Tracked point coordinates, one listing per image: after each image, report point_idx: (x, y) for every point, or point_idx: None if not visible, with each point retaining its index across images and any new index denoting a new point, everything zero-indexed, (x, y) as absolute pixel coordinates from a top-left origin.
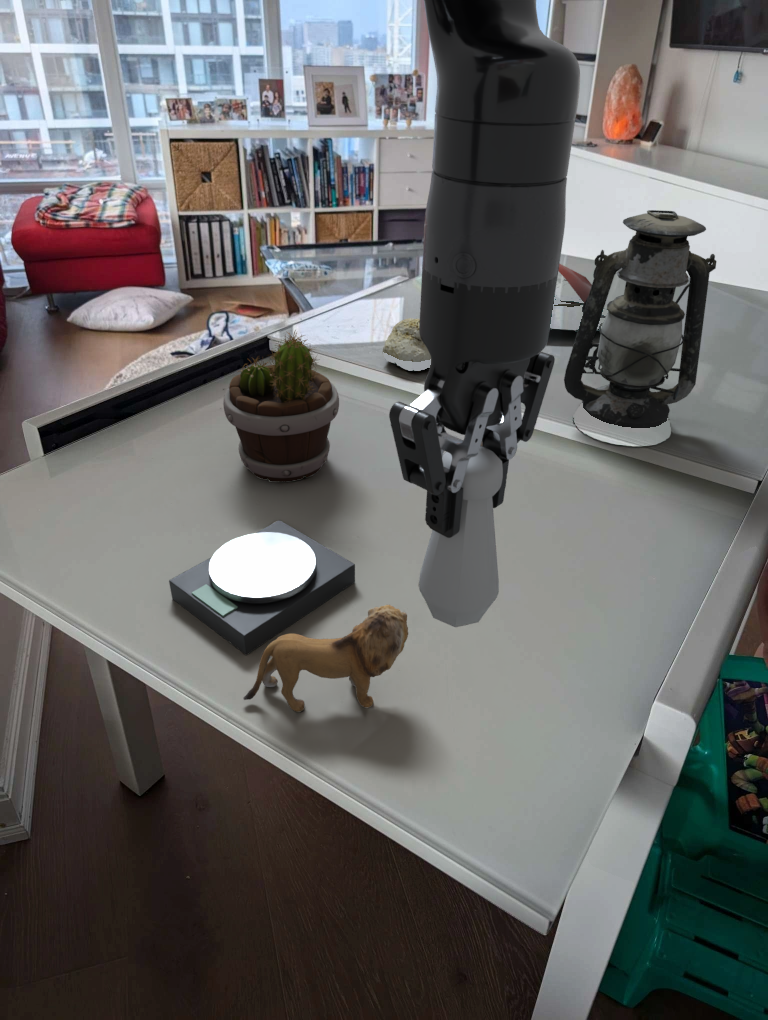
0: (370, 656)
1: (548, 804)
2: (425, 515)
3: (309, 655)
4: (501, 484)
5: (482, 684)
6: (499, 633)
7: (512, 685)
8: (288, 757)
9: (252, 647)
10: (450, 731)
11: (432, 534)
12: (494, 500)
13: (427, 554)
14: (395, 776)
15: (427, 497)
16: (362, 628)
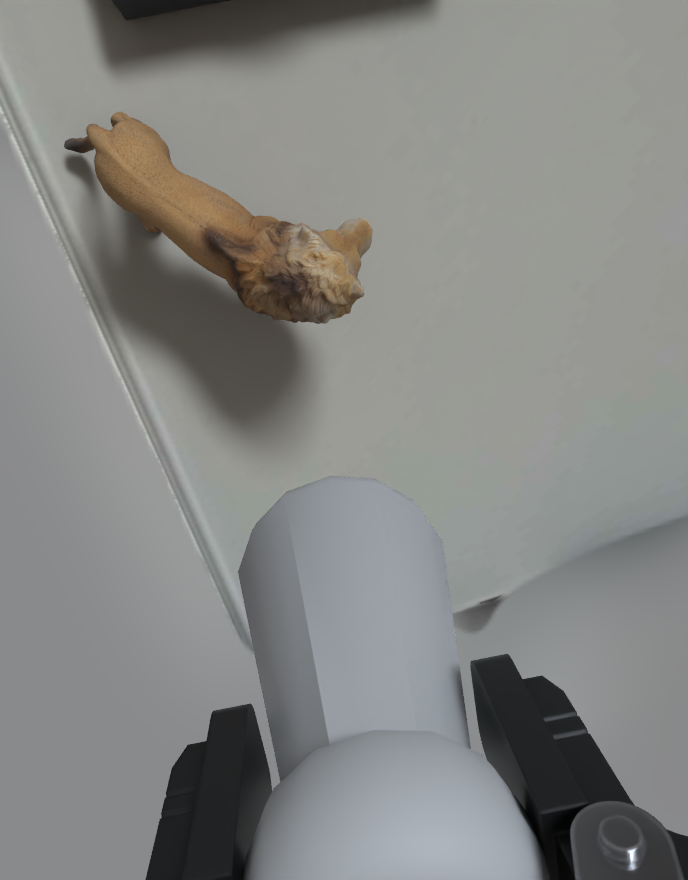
0: (254, 307)
1: None
2: (168, 783)
3: (153, 220)
4: None
5: (452, 370)
6: (570, 294)
7: (490, 401)
8: (91, 303)
9: (140, 13)
10: (341, 414)
11: (292, 598)
12: (488, 758)
13: (269, 579)
14: (219, 430)
15: (152, 862)
16: (260, 265)
